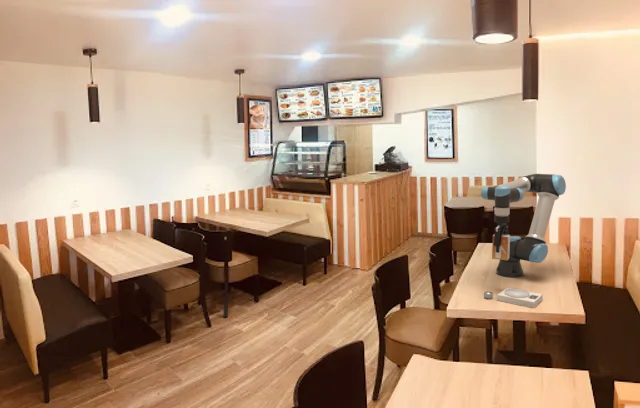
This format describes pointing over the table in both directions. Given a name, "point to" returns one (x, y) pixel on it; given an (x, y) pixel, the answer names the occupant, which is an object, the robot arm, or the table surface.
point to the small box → (502, 247)
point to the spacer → (488, 295)
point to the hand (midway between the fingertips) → (500, 256)
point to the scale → (520, 297)
